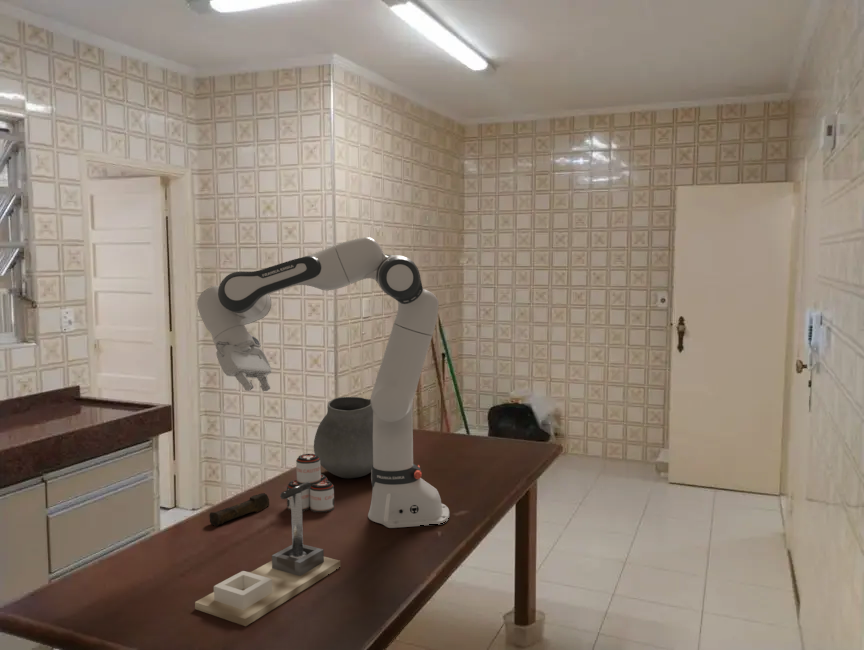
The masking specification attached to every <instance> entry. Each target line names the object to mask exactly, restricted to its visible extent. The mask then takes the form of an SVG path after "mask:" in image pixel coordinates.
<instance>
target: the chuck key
mask: <svg viewBox="0 0 864 650" xmlns="http://www.w3.org/2000/svg"><path fill="white" fill-rule="evenodd" d="M310 487H311V483H310V482H305V483H303V484H301V485H298V486H296V487H293V488H291V489H289V490H287V489H286V490H285V491H282V492H281V493H280V499H282V500H287V498H289V497H291V511H290V512H291V514H290V515H291V545H292V553H291V554H290V555H289V556H290V557H293V558H297V559H300V558H302V557H304V556H305V555H306V552H304V551H303V544H304V535H303V534H304V530H303V525H304V524H303V511H302V491H304V490H307V489H309V488H310Z"/></svg>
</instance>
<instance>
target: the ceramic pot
mask: <svg viewBox="0 0 864 650" xmlns="http://www.w3.org/2000/svg"><path fill="white" fill-rule="evenodd" d="M314 435H315V436H314V440H313V454H316V455H318V457H319V458H320V467H323V469H325V471H328V472H329V473H331V474H332V475H334V476H336V477H338V478H340V479H357V478H361V477H364V476H367V475H368V474H371V469H372V465H373V409H372V407H371V398H370V399H369V398H365V397H361V396H340V397H336V398H333V399H331V400H329V402H328V403H327V413H326V414H325V416H323V418H322V420H321V421H320V422H319V425H318V426H317V429H316V432H315V434H314Z"/></svg>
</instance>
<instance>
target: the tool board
mask: <svg viewBox="0 0 864 650" xmlns="http://www.w3.org/2000/svg"><path fill="white" fill-rule="evenodd" d="M303 551H304V552H306V555H305V556H304V557H302V558H300V559H297V558H293V557H290V556H289V555H290V554H291V553H292V544H291V545H289V546H287V547H285V548H284V549H281V550H279V551H277V552H276V553H274V554H271V560H270V561H269V562H267V563H264V564H263V565H261V566H259V567H257V568H255V569H254V570H252V571H249V572H250V573H253V574H256V575H260V576H263V577H267V578H270V579H272V593H271V594H270V595H268V596H266V597H264V598H263V599H261V600H259V601H258V602H256V603H254V604H253V605H251V606H249V607H248V608H246V609H244V610H242V609H239V608H236V607H233V606H230V605H227V604H224V603H221V602H218V601H215V600H214V591H213V592H211V593H209V594H207V595H205V596H204V597H202V598H200V599H198V600H196V601H195V602H194V609H195V610H197V611H200V612H203V613H206V614H209V615H212V616H214V617H217V618H220V619H223V620H225V621H229V622H232V623H234V624H237V625H240V626H242V627H243V626H244V627H247V626H249V625H250V624H251V623H253V622H255V621H257V620H258V619H260V618H262V617H263V616H265V615H266V614H268V613H270V612H271V611H273V610H274V609H276V608H278V607H279V606H281V605H282V604H284V603H285V602H287V601H288V600H291V599H292V598H293V597H295V596H296V595H298V594H300V593H301V592H303V591H305V590H306V589H308V588H310V587H311V586H312V585H314V584H315V583H317V582H319V581H321V580H322V579H323V578H325V577H327V576H329V575H330V574H332V573H333V572H335V571H336V569H337V570H338V569H340V568H341V560H338V559H334V558H331V557H327V556H324V554H325V551H324V549H323V548H319V547H315V546H311V545H308V544H304V543H303ZM339 567H340V568H339ZM328 574H329V575H328ZM242 590H245V589H242Z"/></svg>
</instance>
